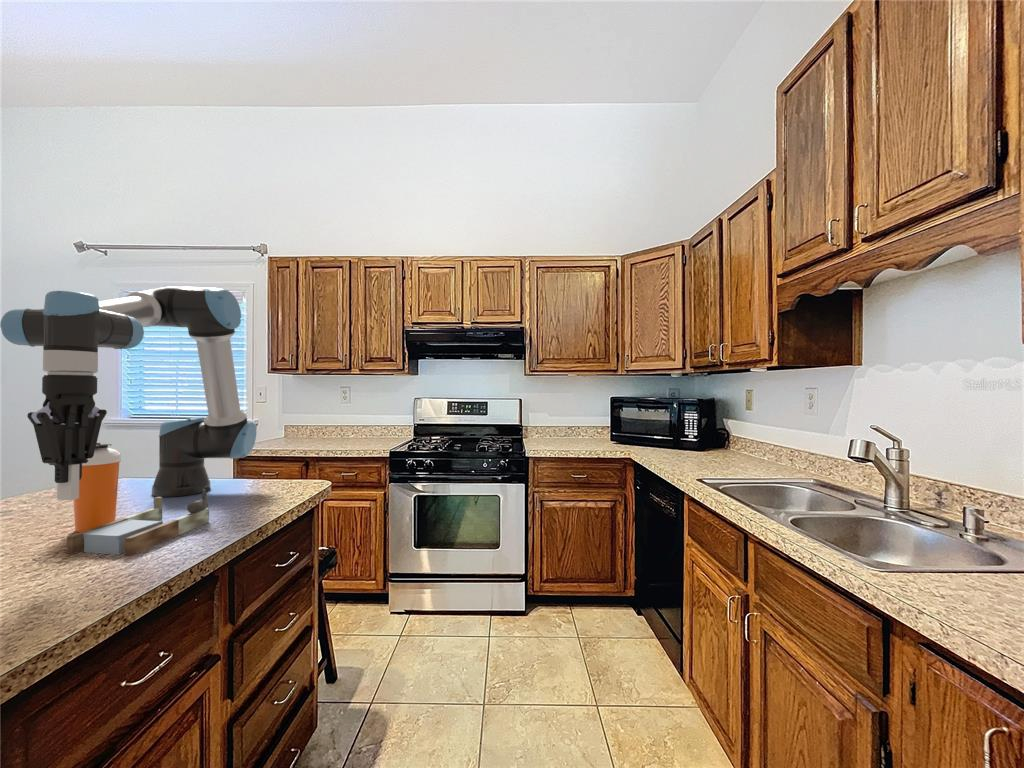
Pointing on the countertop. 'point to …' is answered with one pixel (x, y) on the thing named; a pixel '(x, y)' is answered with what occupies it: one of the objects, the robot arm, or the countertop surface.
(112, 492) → the shaker bottle
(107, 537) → the pale blue flat block
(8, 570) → the countertop surface
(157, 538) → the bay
